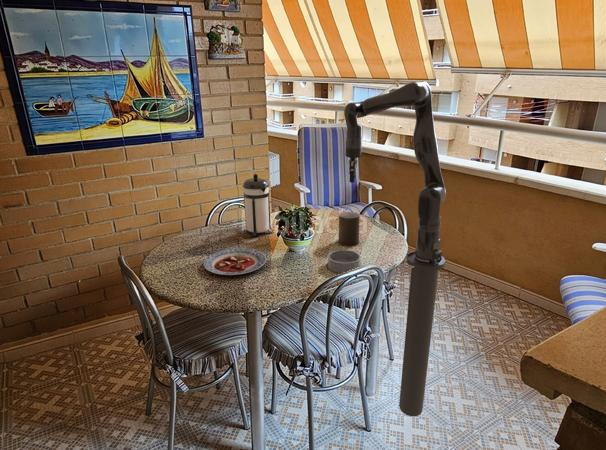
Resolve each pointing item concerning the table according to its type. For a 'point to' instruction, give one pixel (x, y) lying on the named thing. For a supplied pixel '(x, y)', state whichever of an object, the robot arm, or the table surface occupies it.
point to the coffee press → (257, 205)
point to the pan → (343, 260)
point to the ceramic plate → (234, 261)
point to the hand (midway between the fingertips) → (352, 180)
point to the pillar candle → (349, 228)
